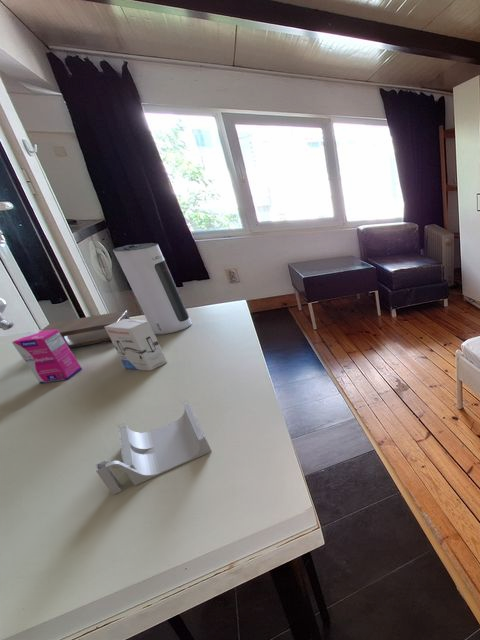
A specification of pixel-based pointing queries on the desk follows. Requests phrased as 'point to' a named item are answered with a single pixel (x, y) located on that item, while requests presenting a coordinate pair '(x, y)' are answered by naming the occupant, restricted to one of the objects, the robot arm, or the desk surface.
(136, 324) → the ink box
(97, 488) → the desk surface
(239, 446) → the desk surface
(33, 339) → the supplement box
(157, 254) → the speaker
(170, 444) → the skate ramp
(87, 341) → the rack
